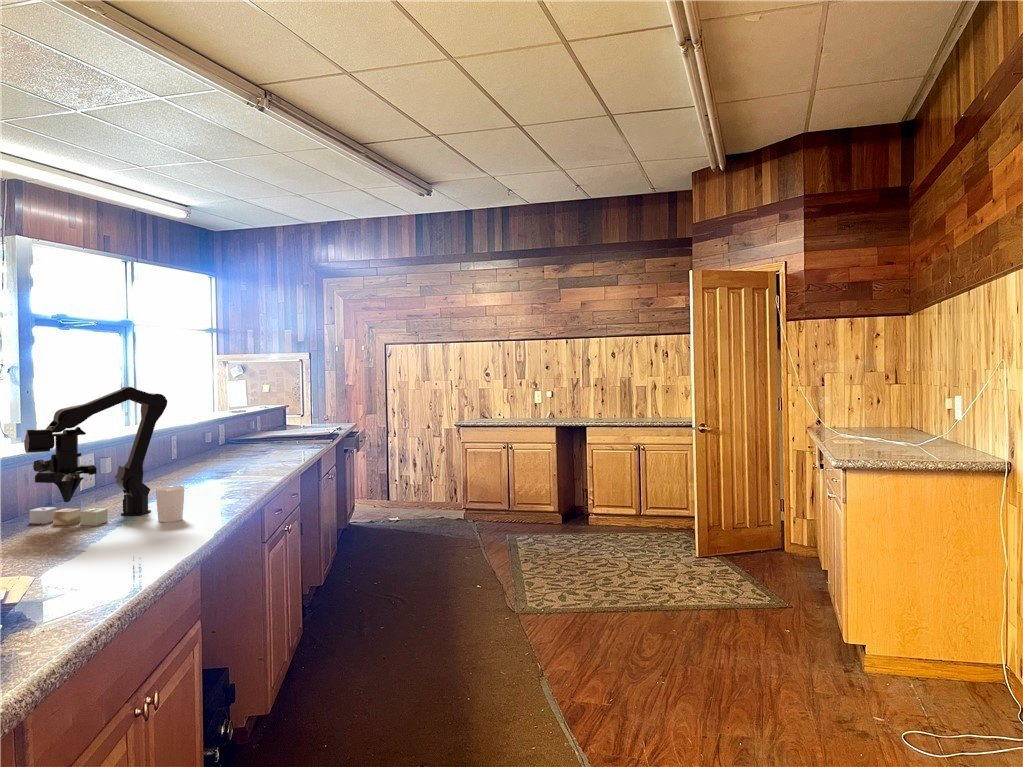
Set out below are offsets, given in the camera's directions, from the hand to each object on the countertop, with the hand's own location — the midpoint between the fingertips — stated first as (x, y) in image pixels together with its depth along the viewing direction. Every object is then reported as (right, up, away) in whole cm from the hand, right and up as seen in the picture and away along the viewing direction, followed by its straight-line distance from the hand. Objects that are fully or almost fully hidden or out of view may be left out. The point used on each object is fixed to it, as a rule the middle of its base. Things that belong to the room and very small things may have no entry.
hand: (67, 501), depth 210 cm
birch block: (0, -7, 0) cm, 6 cm away
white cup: (+29, -7, +5) cm, 30 cm away
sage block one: (+8, -7, 0) cm, 10 cm away
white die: (-8, -6, +2) cm, 10 cm away
